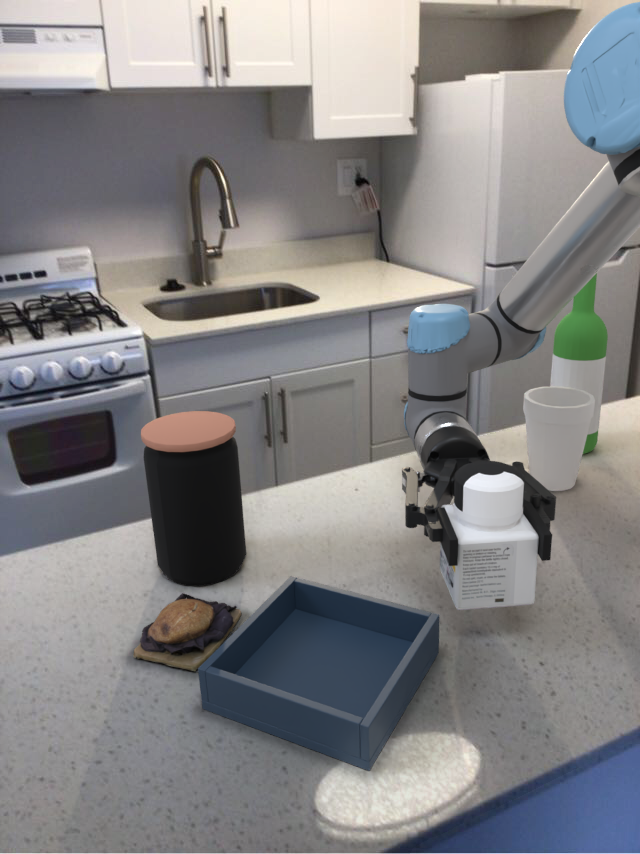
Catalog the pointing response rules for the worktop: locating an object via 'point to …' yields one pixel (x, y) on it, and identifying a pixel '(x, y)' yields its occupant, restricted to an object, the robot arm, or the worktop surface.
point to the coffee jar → (195, 496)
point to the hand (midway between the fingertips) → (500, 550)
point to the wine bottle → (582, 353)
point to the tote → (323, 669)
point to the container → (490, 539)
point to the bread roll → (187, 632)
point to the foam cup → (556, 433)
